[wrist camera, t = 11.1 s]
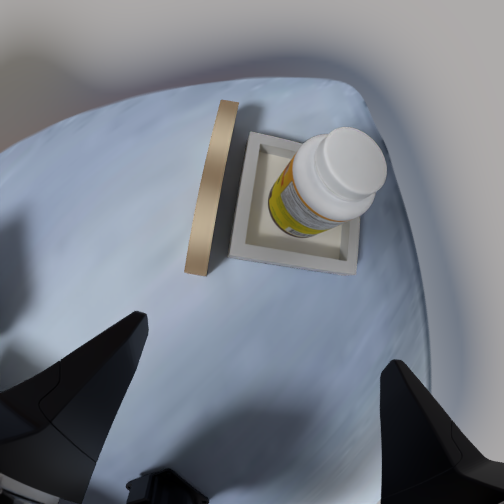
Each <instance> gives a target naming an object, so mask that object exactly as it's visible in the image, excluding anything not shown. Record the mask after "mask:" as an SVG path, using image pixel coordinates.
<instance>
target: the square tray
mask: <svg viewBox="0 0 504 504" xmlns="http://www.w3.org/2000/svg"><path fill="white" fill-rule="evenodd" d="M302 145H303V144H302V143H298V142H294V141H290V140H286V139H282V138H278V137H274V136H269V135H265V134H260V133H255V132H250V133H249V136H248V140H247V143H246V148H245V154H244V160H243V165H242V171H241V177H240V183H239V188H238V194H237V200H236V206H235V212H234V219H233V225H232V231H231V237H230V244H229V250H228V257H227V258H234V259H240V260H246V261H252V262H259V263H265V264H272V265H278V266H284V267H291V268H297V269H304V270H310V271H317V272H324V273H330V274H337V275H344V276H347V275H356V269H357V258H358V245H359V230H360V216H359V217H357V218H355V219H353V220H350V221H348V222H346V223H343V224H341V225H339V226H336V227H334V228H332V229H329V230H327V231H324V232H322V233H319V234H317V235H315V236H312V237H308V238H296V237H292V236H289V235H287V234H285V233H284V232H282V231H281V230H280V229H279V228H278V227H277V226H276V225H275V224H274V222H273V221H272V219H271V217H270V214H269V211H268V196H269V193H270V190H271V188H272V187H273V185H274V183H275V182H276V181H277V179H278V178H279V176H280V175H281V173H282V172H283V171H284V169H285V168H286V166H287V165H288V163H289V162H290V161H291V159H292V158H293V156H294V155H295V154H296V152H297V151H298V149H299V148H300V147H301V146H302Z"/></svg>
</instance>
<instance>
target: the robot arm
mask: <svg viewBox="0 0 504 504" xmlns="http://www.w3.org/2000/svg"><path fill="white" fill-rule="evenodd" d="M148 331H149V329H148V318H147V314H145V313H143V312H139V311H134V312H133V313H131V314H129V315H128V316H126V317H125V318H123V319H122V320H120V321H119V322H117V323H116V324H114V325H113V326H111V327H109V328H108V329H106V330H105V331H103V332H102V333H100V334H99V335H97V336H96V337H94V338H93V339H91V340H90V341H88V342H87V343H85V344H84V345H82V346H81V347H79V348H78V349H76V350H75V351H73V352H72V353H70V354H69V355H67V356H66V357H64V358H63V359H61V361H58V362H56V363H55V364H53V365H52V366H50V367H49V368H47V369H46V370H44V371H42V372H41V373H39V374H37V375H35V376H34V377H32V378H30V379H28V380H26V381H24V382H22V383H20V384H18V385H16V386H14V387H12V388H10V389H8V390H7V391H4V392H2V393H0V504H58V503H59V500H60V498H61V499H65V500H68V501H71V502H75V503H78V504H82V501H83V499H84V496H85V493H86V490H87V487H88V484H89V482H90V479H91V476H92V474H93V471H94V468H95V466H96V462H97V460H98V458H99V455H100V452H101V450H102V447H103V445H104V443H105V440H106V438H107V435H108V433H109V430H110V428H111V426H112V423H113V421H114V419H115V416H116V414H117V412H118V409H119V407H120V405H121V403H122V400H123V398H124V396H125V394H126V391H127V389H128V387H129V385H130V383H131V381H132V378H133V376H134V374H135V371H136V369H137V366H138V363H139V360H140V357H141V354H142V351H143V348H144V345H145V342H146V339H147V336H148ZM380 421H381V443H382V486H381V504H504V463H502V462H495V461H491V460H489V459H487V458H485V457H484V456H483V455H482V454H481V453H480V452H479V451H478V449H477V448H476V447H475V446H474V445H473V444H472V443H471V442H470V441H469V440H468V438H466V436H465V435H464V434H463V433H462V432H461V431H460V429H459V428H458V427H457V426H456V424H455V423H454V422H453V421H452V420H451V418H450V417H449V416H448V414H447V413H446V412H445V411H444V409H443V408H442V407H441V406H440V404H439V403H438V402H437V401H436V400H435V399H434V397H433V396H432V395H431V394H430V392H429V391H428V390H427V389H426V388H425V386H424V385H423V384H422V383H421V382H420V380H419V379H418V378H417V377H416V376H415V375H414V373H413V372H412V371H411V370H410V369H409V368H408V366H407V365H406V364H405V363H404V362H403V361H402V360H396V359H394V360H391V361H390V363H389V364H388V365H387V366H386V367H385V369H384V370H383V371H382V373H381V376H380ZM168 473H170V474H168ZM129 486H130V487H129ZM126 488H127V489H128V490H129V491H130V492H129V495H128V499H127V502H126V504H209V499H208V498H207V497H205V496H204V495H203V494H201V493H200V492H199V491H197V490H196V489H195V488H193V487H192V486H191V485H189V484H188V483H187V482H186V481H185V480H183V479H182V478H181V477H180V476H178V475H177V474H176V473H175V472H174V471H173V470H171V469H164V470H162V471H159V472H157V473H154V474H149V475H146V476H143V477H141V478H138V479H135V480H133V481H132V482H129V483H127V484H126Z"/></svg>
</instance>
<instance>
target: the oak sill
mask: <svg viewBox="0 0 504 504" xmlns="http://www.w3.org/2000/svg"><path fill="white" fill-rule="evenodd" d="M238 105H239V103H238V102H233V101H227V100H221V101H220V105H219V109H218V112H217V116H216V120H215V124H214V128H213V132H212V136H211V140H210V144H209V148H208V152H207V157H206V161H205V165H204V170H203V174H202V179H201V183H200V188H199V193H198V198H197V203H196V208H195V213H194V218H193V223H192V229H191V234H190V240H189V246H188V252H187V258H186V264H185V270H184V272H185V273H188V274H194V275H201V276H206V275H207V269H208V262H209V256H210V250H211V243H212V237H213V231H214V226H215V220H216V214H217V209H218V203H219V198H220V192H221V187H222V182H223V176H224V171H225V166H226V161H227V156H228V151H229V147H230V142H231V137H232V132H233V128H234V123H235V119H236V114H237V109H238Z"/></svg>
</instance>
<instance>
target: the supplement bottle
mask: <svg viewBox="0 0 504 504" xmlns="http://www.w3.org/2000/svg"><path fill="white" fill-rule="evenodd" d="M386 175H387V166H386V161H385V158H384V155H383V153H382V151H381V149H380V148H379V146H378V145H377V144H376V142H375V141H374V140H373V139H372V138H371V137H369V136H368V135H367V134H365V133H364V132H362V131H360V130H358V129H355V128H351V127H341V128H337V129H335V130H333V131H332V132H330V133H329V134H321V135H317V136H314V137H312V138H310V139H308V140H307V141H306V142H305V143H303V145H302V146H301V147H300V148H299V149H298V151H297V152H296V154H295V155H294V156H293V158H292V159H291V161H290V162H289V163H288V165H287V166H286V168H285V169H284V171H283V172H282V173H281V175H280V176H279V178H278V179H277V181H276V182H275V183H274V185H273V187H272V188H271V190H270V193H269V196H268V211H269V214H270V217H271V219H272V221H273V222H274V224H275V225H276V226H277V227H278V228H279V229H280V230H281V231H282V232H284V233H285V234H287V235H289V236H292V237H296V238H308V237H312V236H315V235H317V234H319V233H322V232H324V231H327V230H329V229H332V228H334V227H336V226H339V225H341V224H343V223H346V222H348V221H350V220H353V219H355V218H357V217H359V216H360V215H362V214H363V213H364V212H366V211H367V210H368V208H369V207H370V206H371V204H372V203H373V200H374V197H375V194H376V191H378V190H379V189H380V188H381V187H382V186H383V184H384V182H385V179H386Z"/></svg>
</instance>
